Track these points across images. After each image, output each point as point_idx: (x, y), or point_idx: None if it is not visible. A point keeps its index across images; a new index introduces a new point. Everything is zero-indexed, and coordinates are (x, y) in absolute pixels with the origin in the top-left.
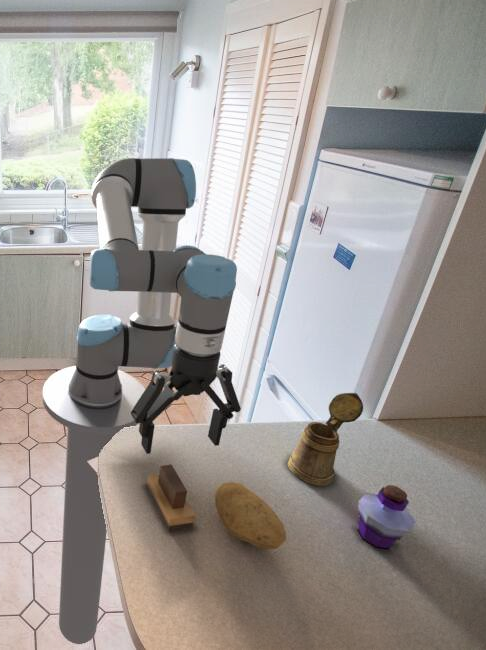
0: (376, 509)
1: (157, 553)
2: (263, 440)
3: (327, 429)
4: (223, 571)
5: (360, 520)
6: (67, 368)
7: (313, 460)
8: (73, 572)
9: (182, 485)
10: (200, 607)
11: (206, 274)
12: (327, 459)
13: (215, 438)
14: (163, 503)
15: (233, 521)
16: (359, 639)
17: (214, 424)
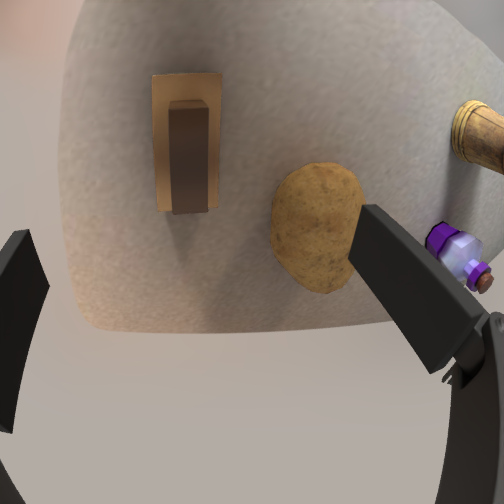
0: (460, 266)
1: (124, 234)
2: (463, 50)
3: None
4: (223, 267)
5: (443, 238)
6: None
7: (486, 159)
8: None
9: (202, 193)
10: (165, 306)
11: None
12: (496, 171)
13: (365, 273)
14: (156, 171)
15: (279, 254)
16: (320, 327)
17: (407, 290)
